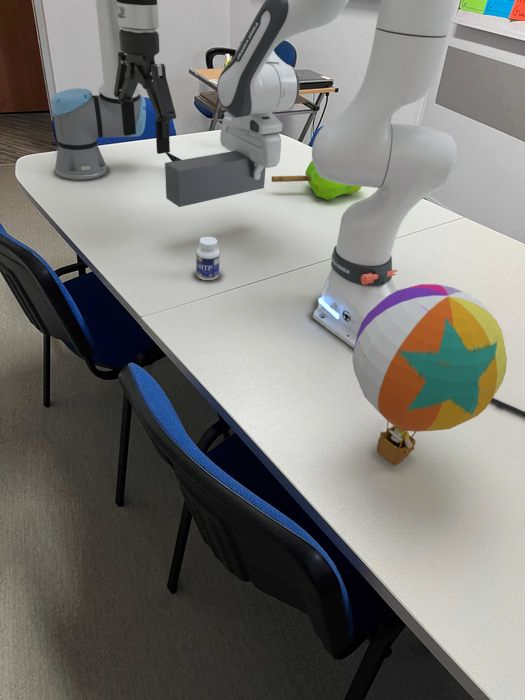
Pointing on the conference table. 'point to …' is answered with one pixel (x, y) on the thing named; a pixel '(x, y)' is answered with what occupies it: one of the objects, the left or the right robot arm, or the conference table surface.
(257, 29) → the right robot arm
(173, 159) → the black angular piece
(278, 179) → the decorative tree
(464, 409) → the toy
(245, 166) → the bar
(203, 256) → the pill bottle
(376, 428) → the conference table surface
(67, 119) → the left robot arm
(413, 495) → the conference table surface
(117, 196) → the conference table surface
